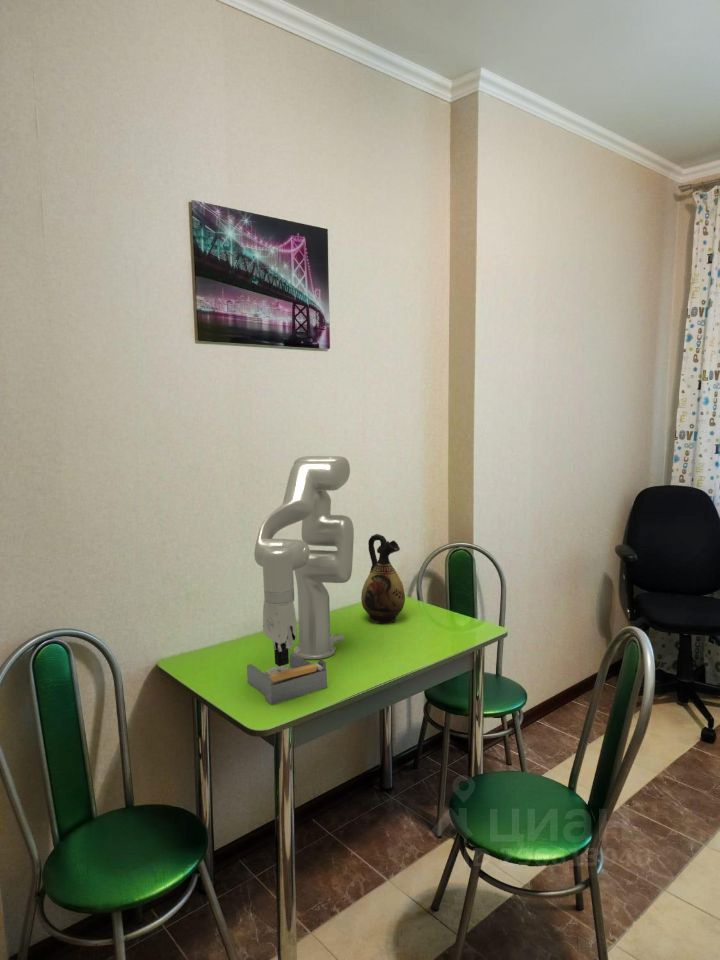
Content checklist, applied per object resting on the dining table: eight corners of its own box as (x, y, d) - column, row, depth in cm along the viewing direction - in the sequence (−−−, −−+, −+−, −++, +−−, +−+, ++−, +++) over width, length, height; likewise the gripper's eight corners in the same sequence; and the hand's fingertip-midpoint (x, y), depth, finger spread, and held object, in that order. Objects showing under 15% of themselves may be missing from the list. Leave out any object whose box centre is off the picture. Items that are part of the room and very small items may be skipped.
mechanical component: (301, 691, 169) (294, 676, 179) (300, 675, 169) (294, 661, 178) (263, 696, 167) (258, 681, 176) (262, 680, 166) (258, 665, 176)
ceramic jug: (413, 617, 227) (413, 534, 224) (388, 629, 215) (387, 542, 211) (375, 609, 237) (374, 529, 234) (349, 620, 225) (347, 536, 222)
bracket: (296, 668, 184) (296, 645, 183) (327, 687, 171) (326, 663, 170) (243, 683, 174) (242, 659, 173) (271, 705, 161) (270, 679, 161)
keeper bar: (316, 666, 172) (316, 662, 172) (322, 670, 170) (322, 665, 170) (269, 678, 164) (269, 673, 164) (275, 682, 161) (275, 677, 161)
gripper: (252, 591, 166) (255, 658, 168) (280, 606, 154) (283, 678, 156) (278, 585, 170) (280, 651, 173) (307, 599, 158) (309, 670, 161)
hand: (282, 664), depth 165 cm, fingers closed
